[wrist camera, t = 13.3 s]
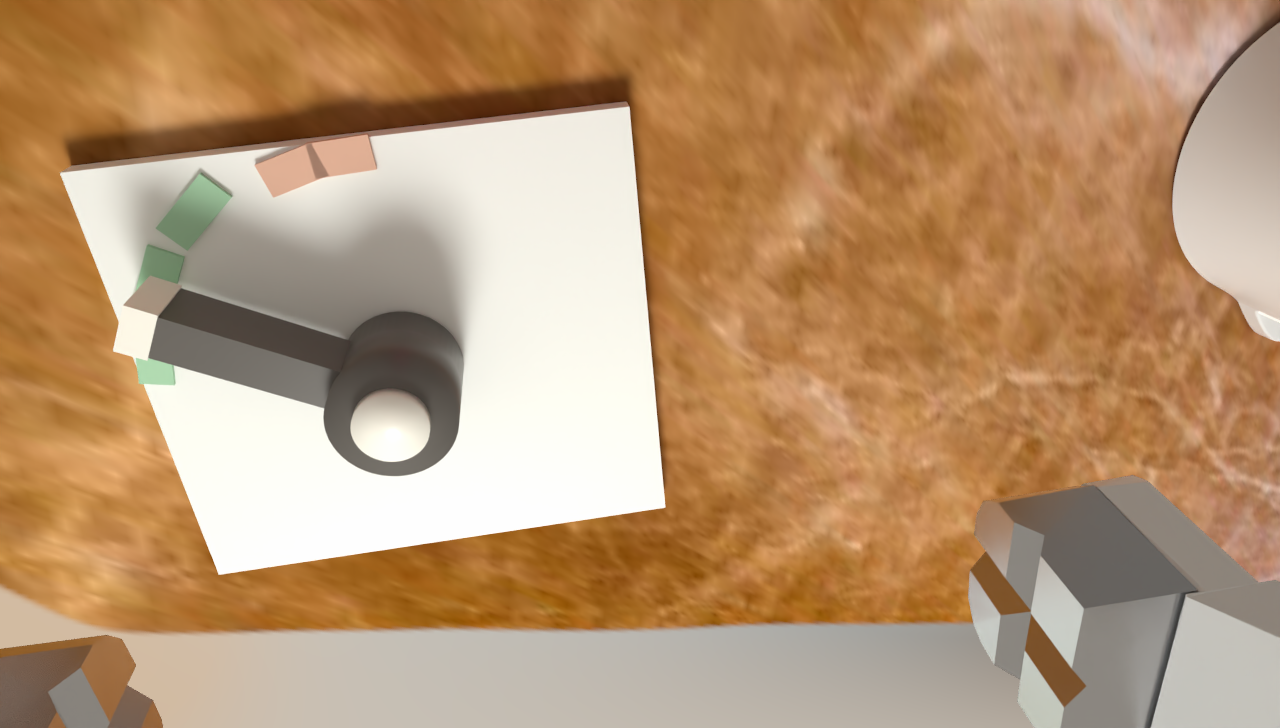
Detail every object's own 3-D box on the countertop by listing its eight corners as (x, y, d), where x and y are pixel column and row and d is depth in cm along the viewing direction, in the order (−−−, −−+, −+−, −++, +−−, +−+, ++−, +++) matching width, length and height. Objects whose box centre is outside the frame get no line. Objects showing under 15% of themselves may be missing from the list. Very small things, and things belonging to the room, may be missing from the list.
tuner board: (626, 97, 37) (629, 104, 36) (662, 496, 47) (665, 509, 46) (67, 162, 36) (54, 170, 35) (223, 561, 45) (216, 577, 44)
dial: (480, 333, 40) (476, 394, 35) (442, 429, 42) (434, 498, 37) (166, 231, 36) (114, 283, 31) (140, 341, 38) (89, 406, 33)
